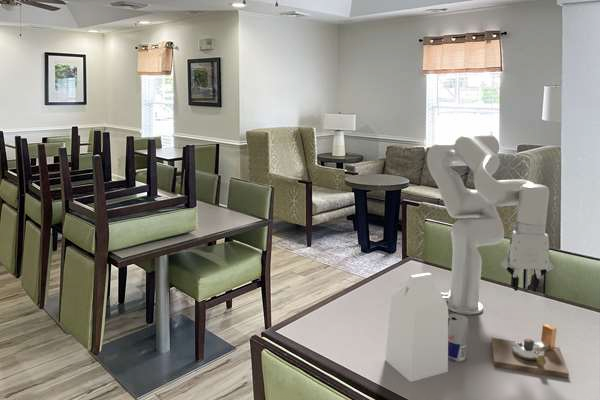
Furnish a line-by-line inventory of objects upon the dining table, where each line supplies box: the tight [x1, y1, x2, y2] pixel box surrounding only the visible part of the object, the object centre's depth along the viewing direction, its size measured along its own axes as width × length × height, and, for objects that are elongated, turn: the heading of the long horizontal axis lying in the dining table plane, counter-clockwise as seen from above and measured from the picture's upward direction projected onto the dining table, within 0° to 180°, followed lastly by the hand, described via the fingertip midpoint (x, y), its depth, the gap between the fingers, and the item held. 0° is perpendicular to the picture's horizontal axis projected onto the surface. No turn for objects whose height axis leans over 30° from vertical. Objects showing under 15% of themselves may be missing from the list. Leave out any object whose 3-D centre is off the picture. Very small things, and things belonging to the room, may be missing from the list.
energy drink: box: [448, 313, 469, 363], centre depth 134 cm, size 5×5×12 cm
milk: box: [385, 272, 449, 383], centre depth 129 cm, size 12×12×26 cm
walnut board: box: [490, 337, 570, 379], centre depth 134 cm, size 18×14×6 cm
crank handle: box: [512, 323, 558, 361], centre depth 135 cm, size 13×8×6 cm, turn 116°
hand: (524, 289), depth 139 cm, fingers open, 4 cm apart
